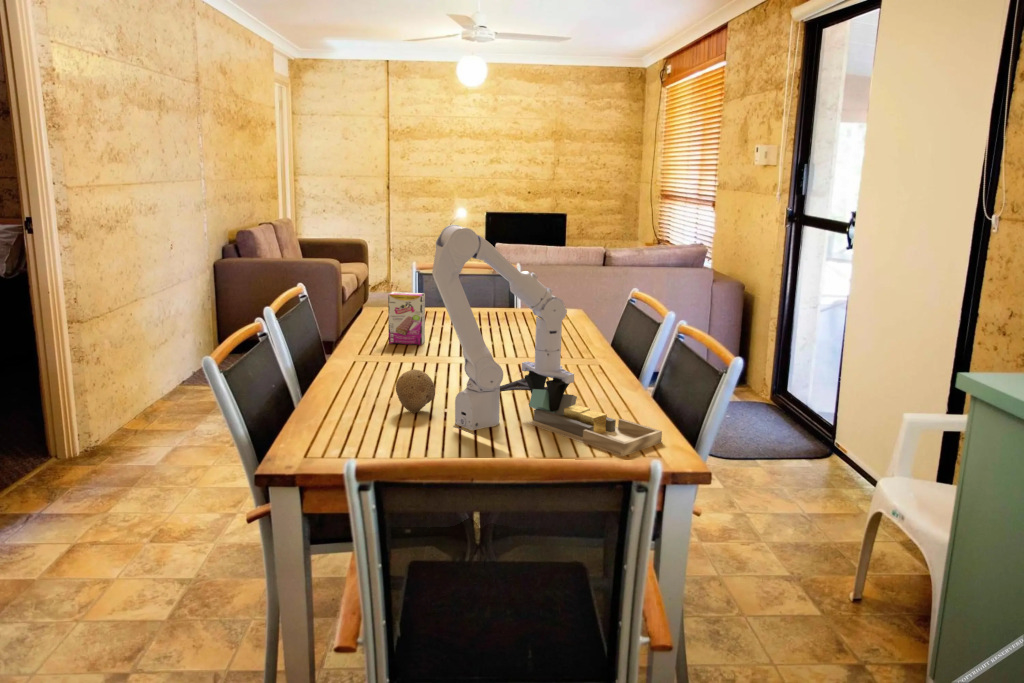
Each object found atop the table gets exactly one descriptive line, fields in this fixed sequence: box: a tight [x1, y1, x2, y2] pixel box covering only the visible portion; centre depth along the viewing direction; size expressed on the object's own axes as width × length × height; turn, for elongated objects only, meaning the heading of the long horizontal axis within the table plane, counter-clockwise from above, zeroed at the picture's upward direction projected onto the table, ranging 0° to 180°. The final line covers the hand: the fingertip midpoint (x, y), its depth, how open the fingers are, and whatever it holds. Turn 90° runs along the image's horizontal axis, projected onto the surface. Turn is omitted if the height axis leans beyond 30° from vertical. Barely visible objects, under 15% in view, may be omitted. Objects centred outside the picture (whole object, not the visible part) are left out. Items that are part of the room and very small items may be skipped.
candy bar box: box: [387, 291, 426, 346], centre depth 249 cm, size 11×5×16 cm, turn 84°
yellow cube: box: [579, 409, 608, 434], centre depth 164 cm, size 4×4×4 cm
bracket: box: [500, 377, 548, 392], centre depth 200 cm, size 14×15×3 cm
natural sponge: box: [395, 368, 436, 414], centre depth 178 cm, size 9×9×10 cm
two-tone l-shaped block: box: [528, 389, 578, 417], centre depth 172 cm, size 5×8×6 cm
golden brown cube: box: [564, 404, 591, 421], centre depth 168 cm, size 4×4×4 cm
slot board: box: [526, 409, 663, 457], centre depth 164 cm, size 13×27×4 cm, turn 43°
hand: (546, 407), depth 174 cm, fingers closed on two-tone l-shaped block, 4 cm apart
